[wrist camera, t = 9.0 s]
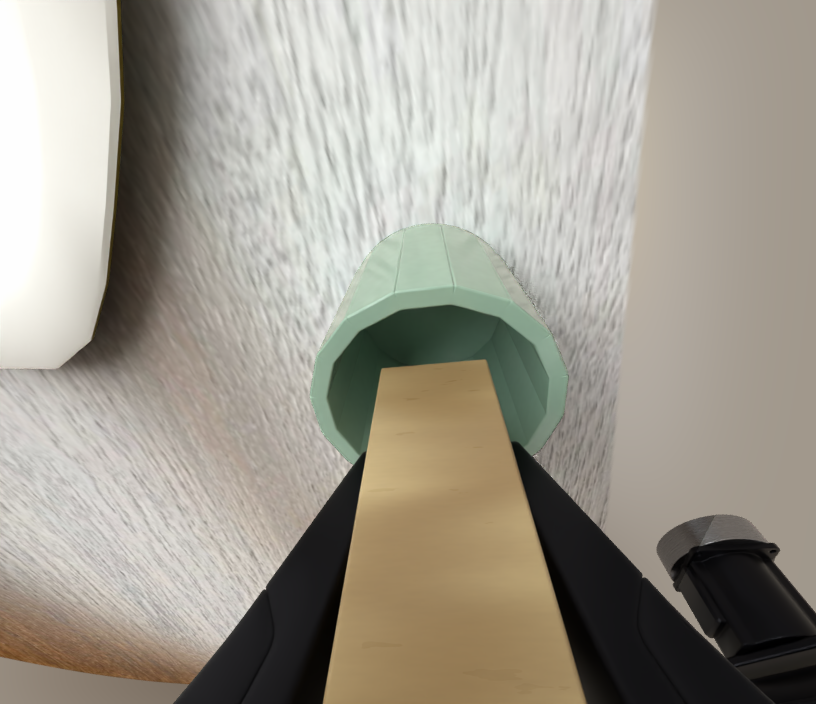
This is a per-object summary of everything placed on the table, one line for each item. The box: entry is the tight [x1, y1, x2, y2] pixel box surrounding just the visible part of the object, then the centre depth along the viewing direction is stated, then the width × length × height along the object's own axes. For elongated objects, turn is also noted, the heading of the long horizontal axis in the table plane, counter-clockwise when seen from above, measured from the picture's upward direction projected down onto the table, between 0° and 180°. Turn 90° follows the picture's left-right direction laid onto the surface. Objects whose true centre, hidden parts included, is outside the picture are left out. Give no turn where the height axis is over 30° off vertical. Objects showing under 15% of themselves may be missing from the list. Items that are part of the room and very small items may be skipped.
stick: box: [323, 359, 587, 704], centre depth 7 cm, size 3×3×8 cm
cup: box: [310, 224, 569, 465], centre depth 13 cm, size 7×7×7 cm
